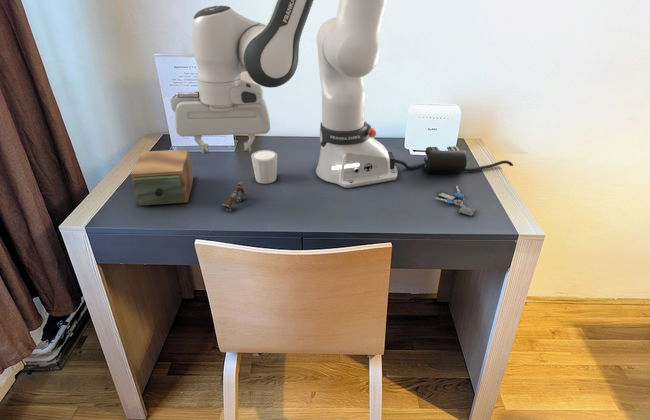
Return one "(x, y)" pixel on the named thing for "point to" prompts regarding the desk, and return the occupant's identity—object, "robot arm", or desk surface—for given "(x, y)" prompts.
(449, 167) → the black cylinder
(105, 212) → the desk surface
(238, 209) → the desk surface
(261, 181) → the white cup
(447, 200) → the key chain
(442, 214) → the desk surface
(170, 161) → the cabinet
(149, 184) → the drawer
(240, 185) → the wooden post with brackets
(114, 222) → the desk surface
